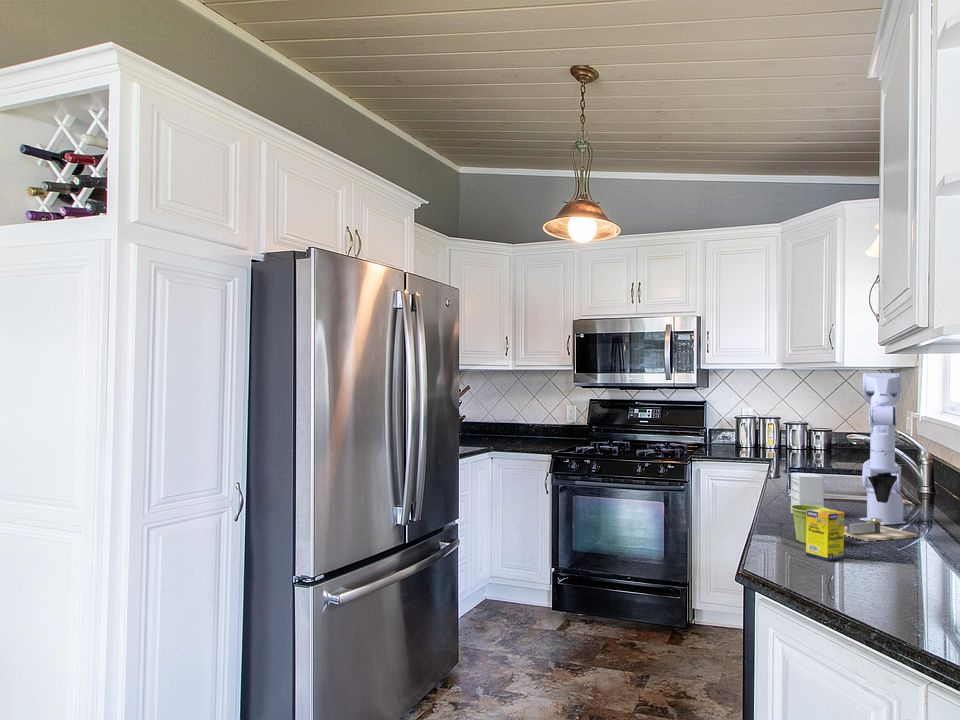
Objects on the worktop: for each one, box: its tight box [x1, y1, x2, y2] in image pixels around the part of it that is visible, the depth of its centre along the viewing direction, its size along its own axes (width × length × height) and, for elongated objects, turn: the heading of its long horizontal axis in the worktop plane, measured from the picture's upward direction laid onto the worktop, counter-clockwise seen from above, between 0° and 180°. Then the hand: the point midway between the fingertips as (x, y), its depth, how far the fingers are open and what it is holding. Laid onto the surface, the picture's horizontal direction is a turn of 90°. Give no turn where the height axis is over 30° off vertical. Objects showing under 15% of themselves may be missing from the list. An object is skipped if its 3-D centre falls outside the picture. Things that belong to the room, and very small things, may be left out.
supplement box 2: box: [805, 507, 845, 562], centre depth 164 cm, size 6×6×11 cm
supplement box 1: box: [790, 472, 825, 514], centre depth 214 cm, size 7×7×13 cm
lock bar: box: [849, 518, 882, 534], centre depth 187 cm, size 10×3×3 cm, turn 111°
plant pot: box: [789, 505, 829, 544], centre depth 179 cm, size 9×9×9 cm
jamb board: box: [844, 521, 918, 542], centre depth 190 cm, size 18×13×4 cm
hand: (882, 502), depth 186 cm, fingers closed
